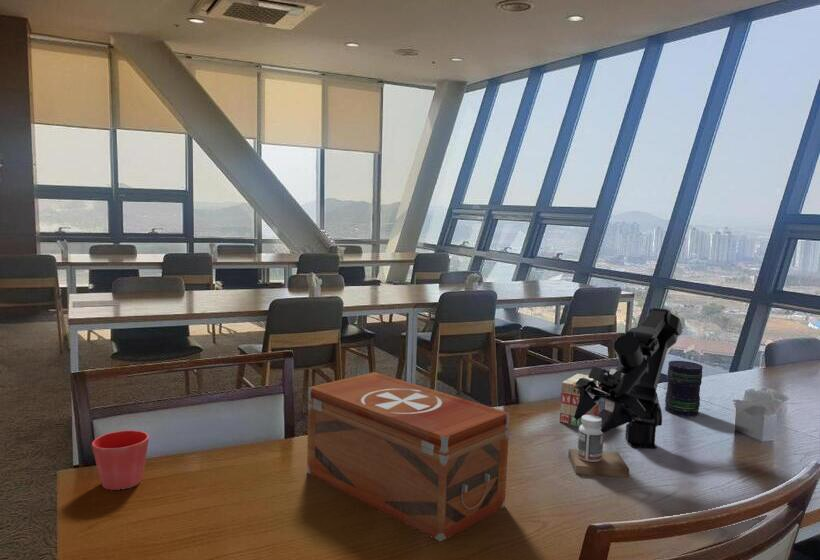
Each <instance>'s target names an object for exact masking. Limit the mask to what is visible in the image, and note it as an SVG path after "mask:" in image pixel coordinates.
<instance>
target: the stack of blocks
mask: <svg viewBox="0 0 820 560" xmlns="http://www.w3.org/2000/svg"><path fill="white" fill-rule="evenodd" d="M588 376H589V374H583V373H576V374H574V375H573V376H571V377H569V378H567V379H566V380H564V381H562V382H561V393H560V412H559V423H560V422H563V423H562V424H564V423H566V424H565V425H568V424H569V426H572V427H573V426H574V427H577V428H579V427H580V426H581V425H582V422H581V419H582V417H581V418H579V419H578V420H576V419H575V418H574V415H575V412H576V409H577V406H578V403H579V398H580V393H579V391H578V390H577V386H576V385H575V384H576V382H577V381H578V380H579V379H580V378H586V379H589V380H591V381H593V382H594V383H595V384H596V385H597V387H598V388H599V389H601V387H600V386H599V385H598V384H597V383H598V381H596V380H594V379H592V378H591V379H590V378H588ZM605 396H606V395H605ZM595 402H596V405H595V406H594V407H593V408H591V409H590V410H589V411H588V412H587V413H586V414H584V415H595V416H598V414H600V413H601V412H603V411H604V410H605V408H606V400H605V399H602V398H600V399H599V400H598V401H595Z"/></svg>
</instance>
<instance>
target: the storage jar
mask: <svg viewBox="0 0 820 560" xmlns="http://www.w3.org/2000/svg"><path fill="white" fill-rule="evenodd" d="M666 378H667V379H666V380H667V387H666V392H665V399H664V400H665V401H664V402H665V404H664V405H665V407H664V410H665V412H667V413H669V414H672V415H674V416H679V417H687V418H693V417H697V416H699V410H700V406H701V396H700V391H701V385H702V381H703V380H702V379H703V365H702V364H699V363H696V362H693V361H686V360H671V361H668V367H667V377H666Z"/></svg>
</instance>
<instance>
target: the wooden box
mask: <svg viewBox="0 0 820 560" xmlns="http://www.w3.org/2000/svg"><path fill="white" fill-rule="evenodd" d="M307 388H308V391H307V393H308V394H307V401H308V402H307V453H306V454H307V456H306V457H307V458H306V459H307V465H306V466H307V471H306V472H307V474H309V475H311V476H313V477H315V478H317V479H319V480H320V481H322V482H325V483H326V484H328V485H330V486H332V487H334V488H336V489H338V490H339V491H341V492H343V493H345V492H346V494H348V495H349V496H352V497H353V498H355V499H357V500H359V501H361V502H363V503H364V504H367V505H369V506H371V507H372V508H375V509H376V510H378V511H380V512H381V513H384V514H386V515H388V516H389V517H392V518H394V519H395V518H396V519H395V520H397V519H398V521H399V520H400V521H399V522H401V521H402V522H401V523H403V524H404V525H407V526H409V525H410V526H409V527H411V528H413V527H414V528H413V529H415V530H416V529H418V530H420V531H421V532H420V531H419V532H420V533H422V532H424V533H425V534H424V533H423V534H424V535H426V534H428V535H429V536H428V535H427V536H428V537H430V536H432V537H434V538H435V539H434V538H433V539H434V540H436V539H438V540H439V541H438V540H437V541H438V542H440V541H442V540H444V539H446V538H448V537H450V536H451V537H453V536H455V535H457V534H458V533H460V532H462V531H464V530H466V529H467V528H469V527H471V526H473V525H475V524H476V523H478V522H480V521H481V520H483V519H485V518H486V517H489V516H490V515H492V514H494V513H496V512H497V511H499V510H501V509H503V508H505V507H506V492H507V490H506V489H507V487H506V486H507V474H508V473H507V471H508V453H509V452H508V448H509V437H510V435H509V432H510V429H508V428H510V412H508V411H505V410H501V409H499V408H495V407H492V406H488V405H485V404H481V403H477V402H475V401H472V400H468V399H465V398H461V397H458V396H455V395H452V394H449V393H445V392H442V391H438V390H435V389H431V388H428V387H424V386H422V385H418V384H415V383H412V382H409V381H405V380H402V379H398V378H396V377H392V376H388V375H385V374H381V373H379V372H375V371H372V372H368V373H365V374H364V373H363V374H360V375H356V376H355V375H354V376H351V377H348V378H346V377H345V378H343V379H338V380H335V381H330V382H324V383H322V384H317V385H313V386H308V387H307ZM479 520H480V521H479ZM465 528H466V529H465ZM418 530H417V531H418ZM456 533H457V534H456ZM454 534H455V535H454ZM452 535H453V536H452ZM432 537H431V538H432ZM451 537H450V538H451ZM448 539H449V538H448ZM446 540H447V539H446ZM444 541H445V540H444ZM442 542H443V541H442Z"/></svg>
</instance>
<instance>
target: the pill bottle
mask: <svg viewBox="0 0 820 560" xmlns="http://www.w3.org/2000/svg"><path fill="white" fill-rule="evenodd" d="M581 422H582V425H581V426H580V427H578V436H577V440H578V441H577V450H578V452H577V455H578V457H579V458H580V459H582V460H584V461H588V462H598V461H600V460H601V459H602V451H604V450H603V448H604V434H605V433H603V432H602V431H601V428H602V425H603V418H602V417H600V416H598V415H596V416H595V415H583V416H582V419H581Z"/></svg>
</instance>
